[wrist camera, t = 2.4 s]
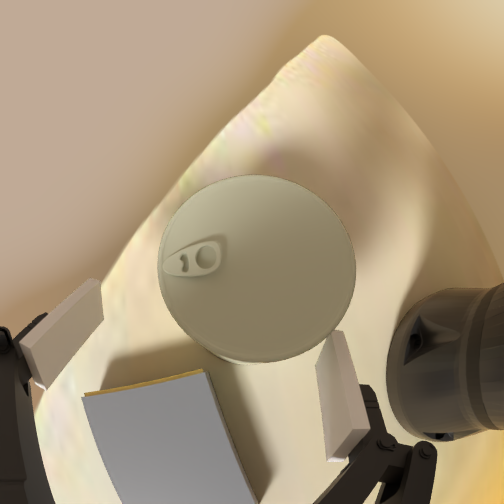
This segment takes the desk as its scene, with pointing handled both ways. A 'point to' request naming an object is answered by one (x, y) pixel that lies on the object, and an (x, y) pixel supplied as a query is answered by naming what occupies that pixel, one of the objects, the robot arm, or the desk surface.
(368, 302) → the desk surface
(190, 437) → the block
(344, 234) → the can
